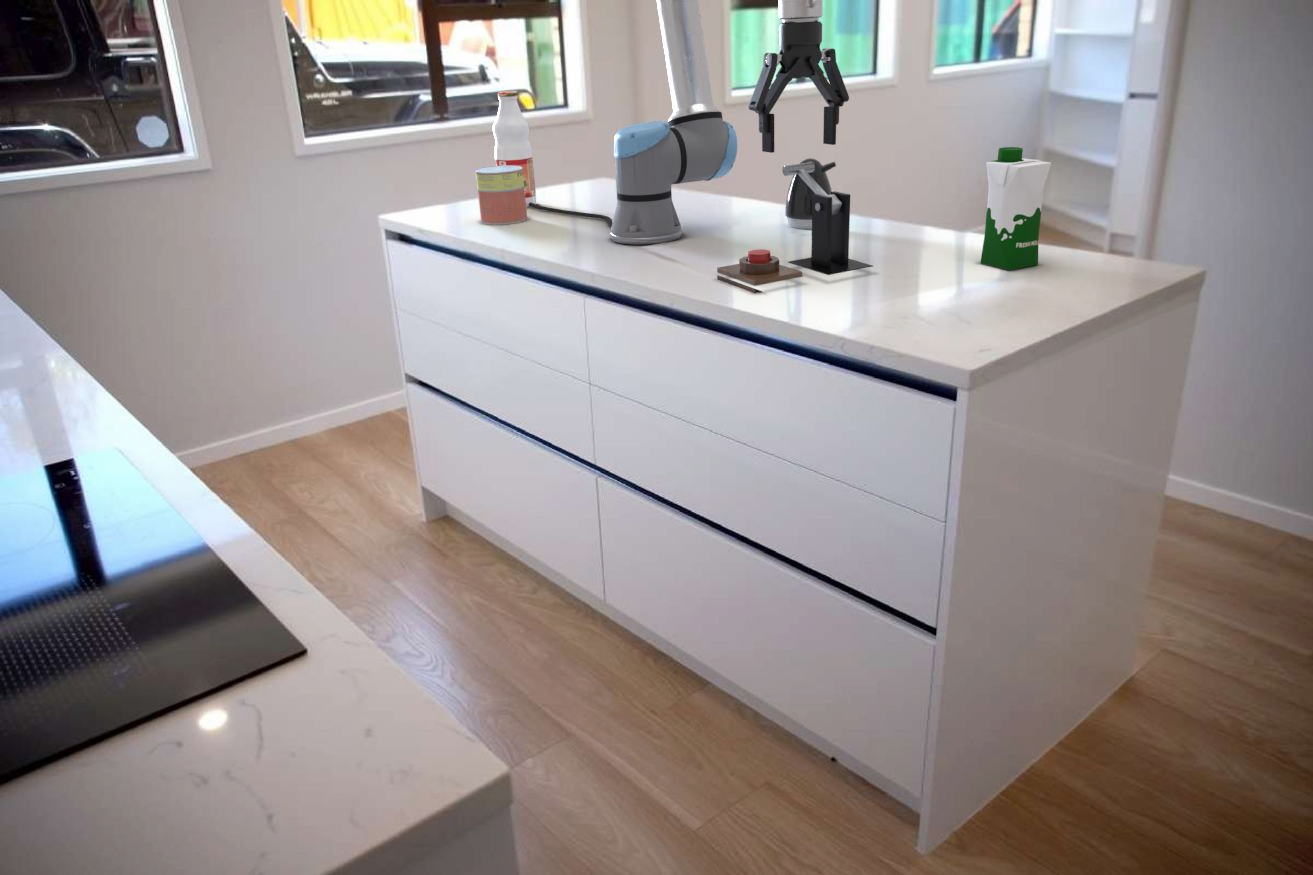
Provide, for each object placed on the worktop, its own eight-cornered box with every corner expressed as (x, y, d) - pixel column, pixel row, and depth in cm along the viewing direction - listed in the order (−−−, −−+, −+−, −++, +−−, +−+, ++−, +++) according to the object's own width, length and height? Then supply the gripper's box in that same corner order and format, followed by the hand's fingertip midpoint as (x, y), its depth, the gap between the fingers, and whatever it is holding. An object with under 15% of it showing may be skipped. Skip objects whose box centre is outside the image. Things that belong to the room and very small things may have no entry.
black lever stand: (787, 269, 183) (788, 193, 178) (830, 261, 188) (832, 187, 182) (827, 282, 174) (829, 202, 168) (872, 273, 178) (876, 195, 172)
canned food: (536, 219, 239) (531, 168, 234) (493, 226, 233) (487, 174, 229) (514, 213, 248) (509, 164, 243) (473, 220, 242) (467, 169, 237)
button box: (717, 279, 179) (716, 257, 177) (763, 271, 183) (763, 249, 182) (754, 293, 169) (754, 270, 168) (802, 284, 173) (802, 261, 172)
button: (743, 261, 176) (743, 251, 175) (762, 258, 177) (762, 248, 177) (756, 265, 172) (755, 255, 172) (775, 262, 174) (775, 252, 173)
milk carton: (1008, 256, 185) (1019, 145, 177) (1046, 265, 178) (1059, 149, 170) (972, 263, 181) (981, 150, 174) (1010, 272, 174) (1021, 155, 166)
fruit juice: (544, 203, 258) (534, 90, 247) (518, 210, 252) (506, 93, 241) (519, 201, 264) (508, 89, 253) (492, 207, 257) (480, 93, 246)
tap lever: (780, 173, 182) (784, 162, 180) (807, 170, 184) (811, 158, 183) (819, 217, 175) (823, 206, 173) (846, 213, 177) (851, 201, 175)
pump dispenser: (833, 236, 207) (835, 161, 201) (783, 236, 209) (783, 162, 203) (835, 226, 216) (837, 154, 210) (787, 226, 218) (787, 155, 212)
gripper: (752, 24, 163) (753, 157, 172) (871, 17, 174) (867, 142, 182) (727, 25, 169) (729, 153, 178) (843, 18, 180) (841, 139, 188)
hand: (799, 148), depth 180 cm, fingers open, 13 cm apart
